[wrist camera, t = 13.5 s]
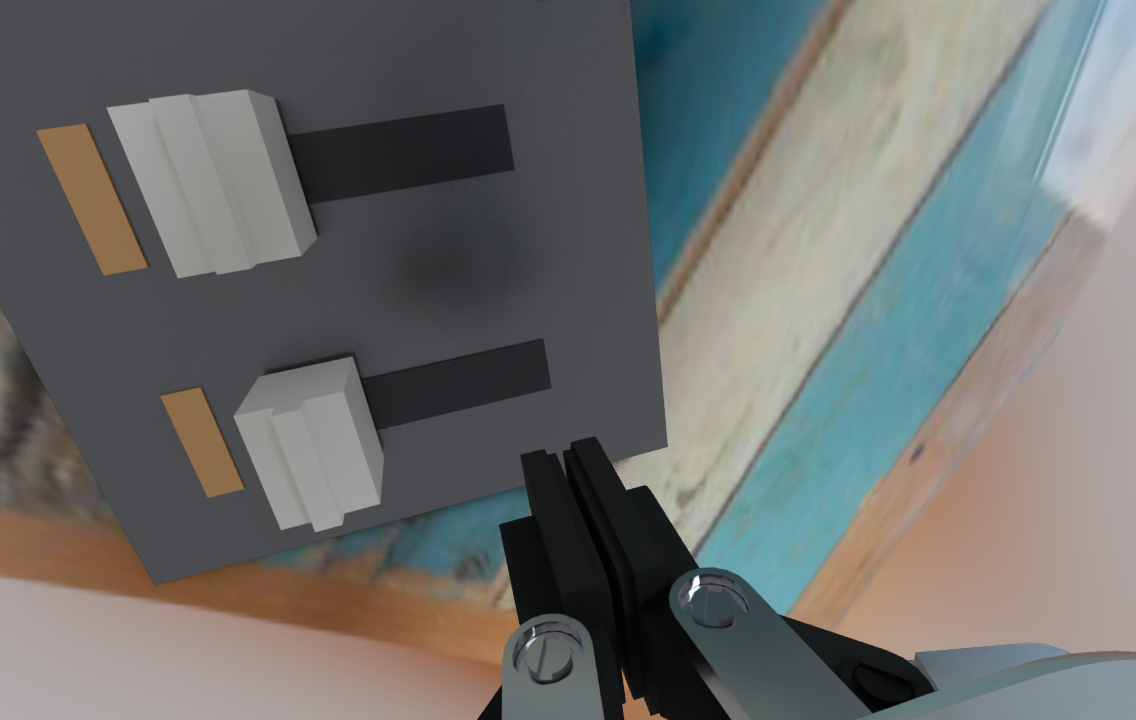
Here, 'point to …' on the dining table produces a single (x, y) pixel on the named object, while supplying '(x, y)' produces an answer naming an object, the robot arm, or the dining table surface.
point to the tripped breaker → (313, 443)
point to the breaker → (217, 179)
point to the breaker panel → (336, 249)
